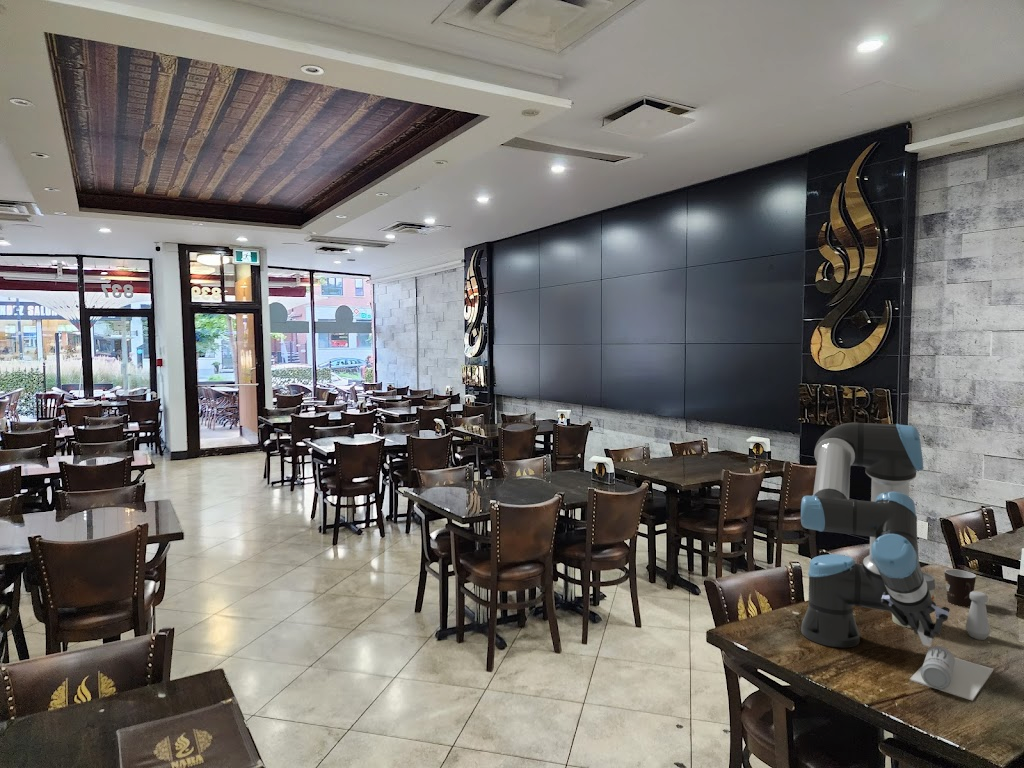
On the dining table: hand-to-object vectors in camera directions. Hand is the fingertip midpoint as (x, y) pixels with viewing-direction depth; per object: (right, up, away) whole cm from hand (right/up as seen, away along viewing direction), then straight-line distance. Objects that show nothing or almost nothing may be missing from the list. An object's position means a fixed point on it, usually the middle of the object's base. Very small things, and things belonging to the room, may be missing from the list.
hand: (927, 640), depth 145 cm
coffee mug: (+52, -14, +63) cm, 83 cm away
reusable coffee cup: (+26, -15, +48) cm, 57 cm away
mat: (+17, -15, +16) cm, 28 cm away
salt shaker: (+40, -15, +39) cm, 57 cm away
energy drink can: (+7, -12, +8) cm, 16 cm away
